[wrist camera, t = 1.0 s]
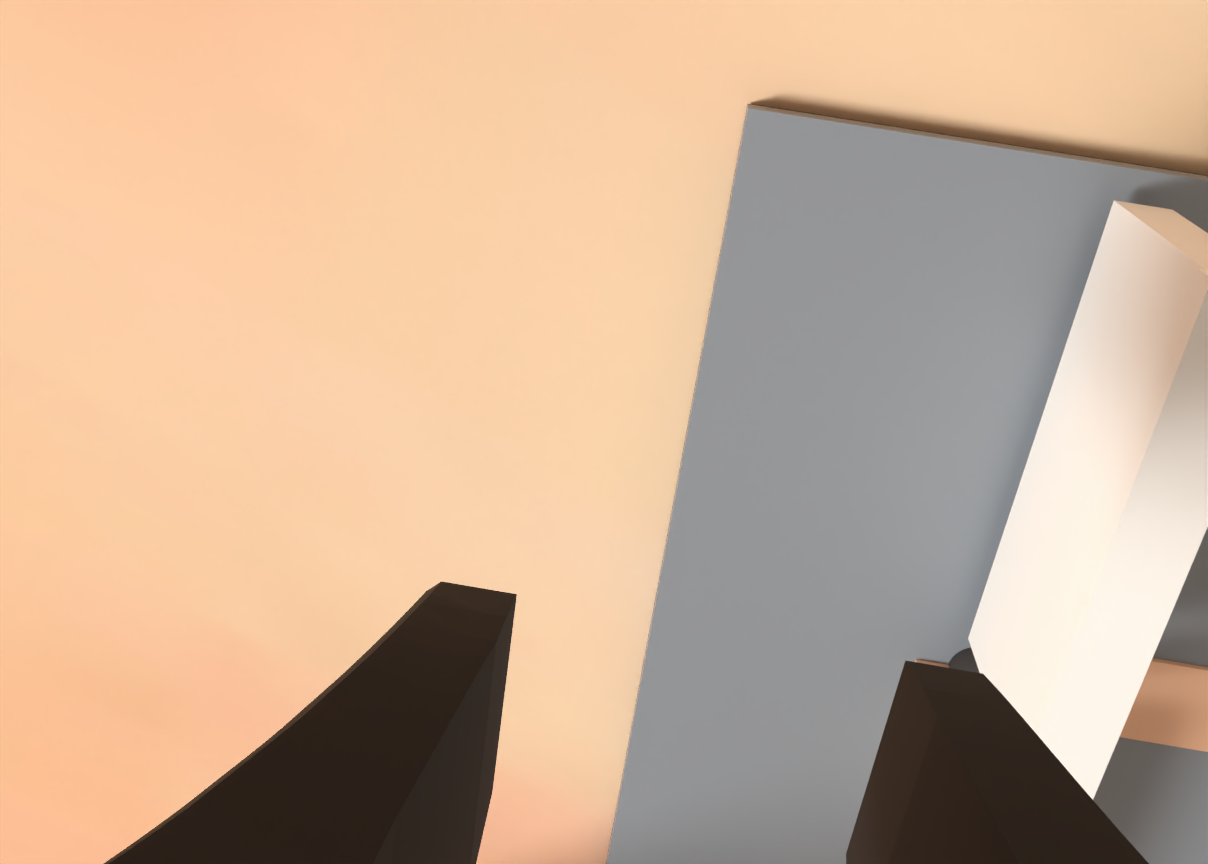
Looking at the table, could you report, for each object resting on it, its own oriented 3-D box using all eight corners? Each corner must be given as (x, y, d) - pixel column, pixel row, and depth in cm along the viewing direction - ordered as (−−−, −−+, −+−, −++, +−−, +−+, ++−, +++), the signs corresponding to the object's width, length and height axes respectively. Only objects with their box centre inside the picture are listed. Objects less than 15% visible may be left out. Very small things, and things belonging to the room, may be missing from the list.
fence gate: (1022, 647, 19) (1088, 809, 15) (961, 637, 19) (1014, 797, 15) (1179, 210, 16) (1305, 294, 12) (1106, 199, 16) (1212, 279, 12)
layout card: (1365, 1009, 22) (1379, 1031, 22) (604, 875, 23) (601, 894, 22) (1820, 271, 16) (1854, 283, 15) (748, 103, 16) (748, 108, 16)
